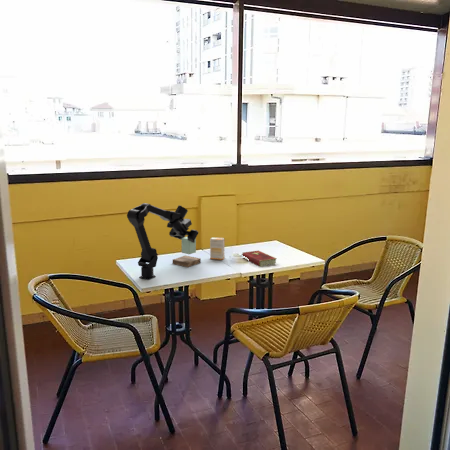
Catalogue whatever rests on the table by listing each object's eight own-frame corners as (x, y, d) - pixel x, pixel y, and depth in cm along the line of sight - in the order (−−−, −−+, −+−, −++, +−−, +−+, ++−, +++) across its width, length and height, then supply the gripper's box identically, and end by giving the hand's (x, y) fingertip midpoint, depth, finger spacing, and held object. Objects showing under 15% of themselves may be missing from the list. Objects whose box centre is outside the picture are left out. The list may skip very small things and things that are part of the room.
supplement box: (224, 258, 288) (224, 237, 285) (222, 260, 283) (222, 239, 281) (212, 257, 290) (212, 236, 287) (209, 259, 285) (209, 238, 283)
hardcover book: (259, 267, 271) (259, 260, 270) (242, 258, 289) (242, 252, 288) (276, 264, 276) (276, 258, 275) (258, 256, 294) (258, 250, 293)
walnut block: (188, 267, 268) (188, 262, 268) (172, 264, 275) (172, 259, 274) (200, 263, 278) (200, 258, 277) (185, 260, 284) (185, 255, 284)
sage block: (189, 254, 270) (189, 239, 268) (181, 252, 273) (181, 238, 271) (195, 252, 274) (195, 237, 273) (188, 250, 278) (188, 236, 276)
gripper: (196, 216, 261) (208, 232, 272) (172, 213, 272) (184, 228, 282) (187, 232, 256) (199, 248, 267) (163, 228, 267) (176, 243, 278)
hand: (190, 241), depth 274 cm, fingers closed on sage block, 6 cm apart
